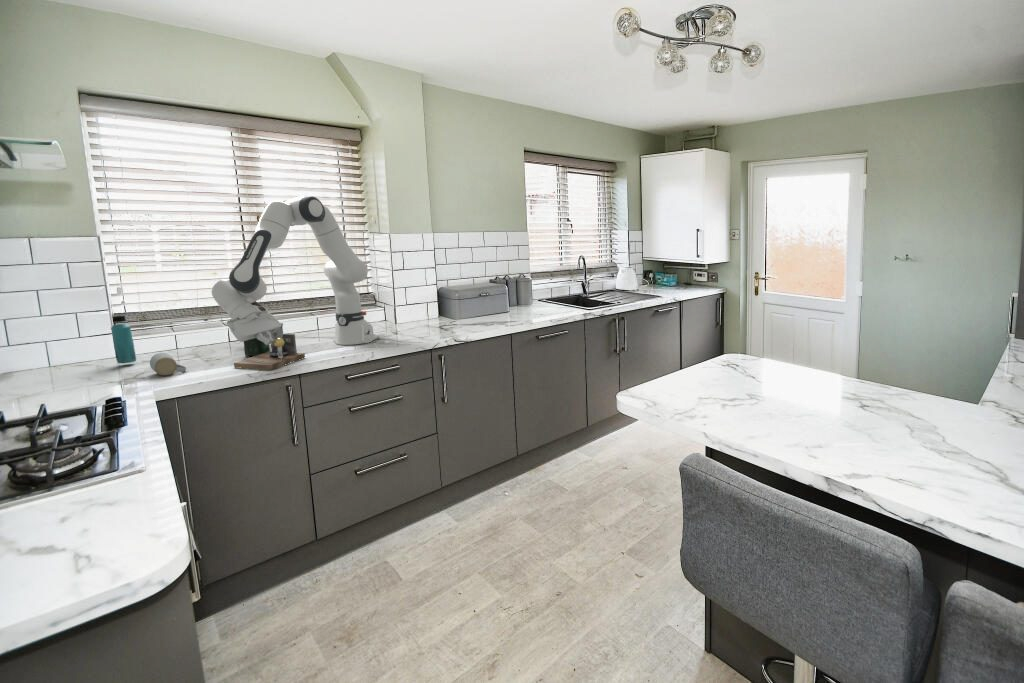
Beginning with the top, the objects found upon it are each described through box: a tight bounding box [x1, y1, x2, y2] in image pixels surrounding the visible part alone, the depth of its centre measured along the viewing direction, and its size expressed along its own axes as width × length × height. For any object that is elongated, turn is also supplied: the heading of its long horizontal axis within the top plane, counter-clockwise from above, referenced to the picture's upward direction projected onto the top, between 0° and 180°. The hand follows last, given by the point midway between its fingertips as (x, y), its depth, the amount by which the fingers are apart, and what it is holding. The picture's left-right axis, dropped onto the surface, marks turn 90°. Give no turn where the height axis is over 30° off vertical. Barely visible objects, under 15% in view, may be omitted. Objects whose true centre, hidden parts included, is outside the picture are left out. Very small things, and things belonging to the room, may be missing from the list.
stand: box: [233, 333, 306, 371], centre depth 211 cm, size 20×17×10 cm
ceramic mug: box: [149, 352, 187, 377], centre depth 198 cm, size 11×8×8 cm
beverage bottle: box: [110, 315, 137, 364], centre depth 210 cm, size 6×7×20 cm
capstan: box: [269, 322, 288, 359], centre depth 209 cm, size 20×7×13 cm, turn 26°
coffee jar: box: [243, 337, 271, 357], centre depth 224 cm, size 10×8×19 cm
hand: (270, 343), depth 200 cm, fingers closed
